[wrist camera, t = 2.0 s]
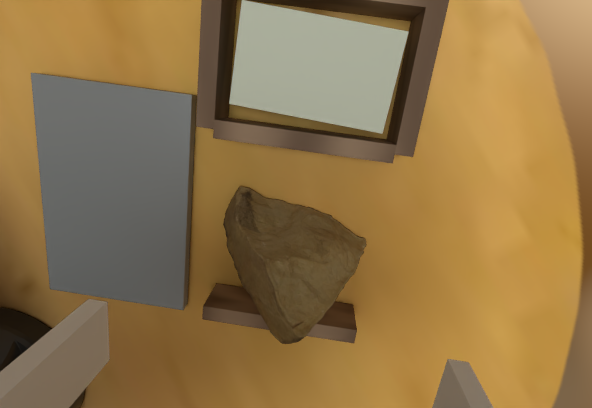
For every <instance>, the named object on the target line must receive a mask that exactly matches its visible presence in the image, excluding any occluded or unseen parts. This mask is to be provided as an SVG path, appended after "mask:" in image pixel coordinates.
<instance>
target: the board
mask: <svg viewBox="0 0 592 408" xmlns="http://www.w3.org/2000/svg"><path fill="white" fill-rule="evenodd" d="M31 79H32V91H33V102H34V113H35V125H36V136H37V147H38V159H39V170H40V181H41V193H42V204H43V215H44V227H45V238H46V250H47V261H48V272H49V284H50V289H53V290H59V291H66V292H72V293H78V294H84V295H91V296H97V297H103V298H110V299H116V300H122V301H129V302H135V303H141V304H147V305H154V306H160V307H166V308H173V309H179V310H184V308H185V307H186V305H187V302H188V280H189V257H190V234H191V212H192V189H193V166H194V144H195V121H196V98H197V95H191V94H184V93H177V92H169V91H162V90H155V89H148V88H140V87H133V86H126V85H118V84H111V83H104V82H97V81H89V80H82V79H75V78H67V77H60V76H53V75H46V74H37V73H31Z"/></svg>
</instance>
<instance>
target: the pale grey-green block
mask: <svg viewBox="0 0 592 408" xmlns="http://www.w3.org/2000/svg"><path fill="white" fill-rule="evenodd" d="M407 36H408V31H403V30H397V29H392V28H387V27H382V26H376V25H371V24H366V23H361V22H355V21H350V20H345V19H340V18H334V17H329V16H324V15H319V14H313V13H308V12H303V11H298V10H292V9H287V8H282V7H277V6H271V5H266V4H261V3H256V2H250V1H245V0H242V4H241V12H240V20H239V28H238V36H237V44H236V52H235V60H234V69H233V77H232V85H231V93H230V101H229V104H233V105H238V106H243V107H248V108H253V109H258V110H263V111H269V112H274V113H279V114H284V115H289V116H294V117H299V118H304V119H310V120H315V121H320V122H325V123H330V124H335V125H340V126H345V127H351V128H356V129H361V130H366V131H371V132H376V133H381V134H383V130H384V126H385V122H386V118H387V114H388V110H389V106H390V103H391V99H392V95H393V91H394V87H395V83H396V79H397V75H398V71H399V67H400V63H401V60H402V56H403V52H404V48H405V44H406V40H407Z"/></svg>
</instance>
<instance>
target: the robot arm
mask: <svg viewBox="0 0 592 408" xmlns="http://www.w3.org/2000/svg"><path fill="white" fill-rule="evenodd" d="M109 360H110V358H109V329H108V302H104V301H98V300H92V299H88V300H87V301H85V302H84V303H83V304H82V305H81V306H79V307H78V308H77V309H76V310H75V311H73V312H72V313H71V314H70V315H68V316H67V317H66V318H65V319H64V320H62V321H61V322H60V323H59V324H58V325H56V326H55V327H54V328H53V329H50V328H48V327H47V326H46V325H44V324H43V323H41V322H39V321H38V320H36V319H34V318H32V317H30V316H28V315H26V314H23V313H20V312H17V311H14V310H10V309H6V308H0V408H80V407H81V404H82V402H83V398H84V391H85V388H86V387H87V386H88V385H89V384H90V383H91V381H92V380H93V379H94V378H95V377H96V375H97V374H98V373H99V372H100V371H101V369H102V368H103V367H104V366H105V365H106V364H107V362H108V361H109ZM432 408H493V406H492V404H491V403H490V401H489V399H488V397H487V395H486V393H485V392H484V390H483V388H482V386H481V384H480V382H479V381H478V379H477V377H476V375H475V373H474V371H473V370H472V368H471V366H470V364H469V362H463V361H457V360H451V359H448V360H447V363H446V366H445V369H444V372H443V376H442V379H441V382H440V385H439V388H438V391H437V395H436V398H435V401H434V404H433V407H432Z"/></svg>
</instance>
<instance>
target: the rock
mask: <svg viewBox="0 0 592 408" xmlns="http://www.w3.org/2000/svg"><path fill="white" fill-rule="evenodd" d="M223 225H224V228H225V231H226V236H227V247H228V250H229V253H230V254H231V257H232V259H233V261H234V266H235V268H236V270H237V272H238V275H239V278H240V280H241V283H242V285H243V287H244V288H245V289H246V290H247V292H248V293H249V294H250V295H251V297H252V300H253V302H254V304H255V306H256V307H257V309H258V311H259V313H260V315H261V316H262V318H263V320H264V321H265V323H266V324H267V326H268V328H269V330H270V332H271V333H272V334H273V336H274V337H275V338H277V339H278V340H279V341H280V342H281V343H282V344H290V343H295V342H299V341H300V340H301V339H303V338H304V337H306V336H307V335H308V333H309V332H310V330H311V329H312V328H313V327H314V326H315V324H316V323H317V322H318V321H319V320H321V319H322V318H323V316H324V314H325V312H326V311H327V310H328V309H329V308H330V307H331V306H332V305H333V303H334V302H335V300H336V298H337V296H338V295H339V293H340V291H341V290H342V289H343V288H344V285H345V283H346V282H347V281H348V280H349V278H350V277H351V276H352V275H353V274H354V273H355V271H356V269H357V266H358V263H359V259H360V257H361V255H362V254H363V253H364V251H363V250H364V248H365V247H366V239H364V238H362V237H358V236H356V235H355V234H353V233H352V232H351V231H349V230H348V229H346V228H345V227H344V226H343V225H342V224H341V223H340V222H338V221H336V220H335V219H333V218H332V216H331V215H327V214H324V213H321V212H318V211H316V210H314V209H312V208H309V207H308V208H306V207H303V206H300V205H292V204H289V203H286V202H285V201H282V200H277V199H267V198H264V197H262V196H261V195H260V194H258V193H256V192H254V191H253V190H252V189H249V188H245V187H242V186H240V187H239V188H238V190H237V191H236V193H235V195H234V197H233V198H232V200H231V201H230V204H229V206H228V208H227V210H226V213H225V219H224V224H223Z"/></svg>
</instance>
